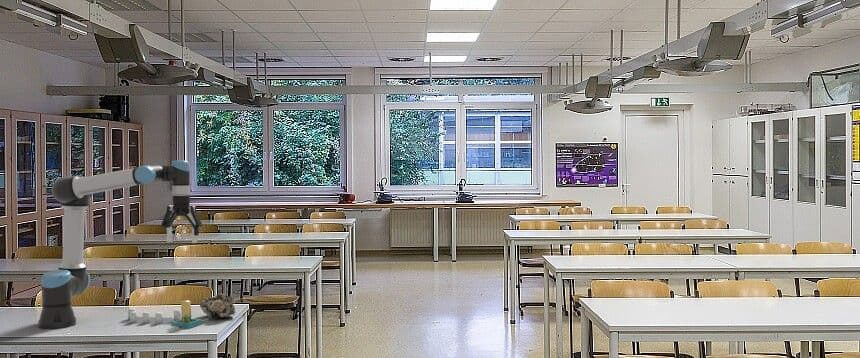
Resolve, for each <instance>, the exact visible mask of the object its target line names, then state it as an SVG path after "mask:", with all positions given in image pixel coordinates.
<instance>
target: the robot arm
mask: <svg viewBox="0 0 860 358" xmlns="http://www.w3.org/2000/svg"><path fill="white" fill-rule="evenodd" d="M190 170H191V169H190V163H189V161H188V160H172V161H171V164H168V165H167V164H164V165H162V164H151V165H148V164H147V165H141V166H138V167H132V168H128V169H122V170H117V171H111V172H104V173H100V174H95V175H90V176H79V175H71V176H62V177H60V178H58V179H57V180H55V181H54V182H53V184H52V187H51V193H52V196H53V197H54V199H55V200H56V201H57V202H59V203H60V207H61V208H62V209H63V210H64V214H63V215H64V216H63V234H62V235H63V239H62V262H61V263H60V264H59V265H58V269H55V270H54V269H53V270H49V271H46V272H44V273H43V275H42V276H41V282H40V283H41V301H42V302H41V307H42V308H41V309H42V310H41V313H40V317H39V320H38V321H37V322H38V324H37V325H38V326H39V327H38V326H37V327H38V328H40V327H41V329H61V328H67V327H72V326H74V325H76V324H77V317H76V316H75V312H74V310H73V307H72V306H73V305H72V297H76V296H78V295H80V294H82V293H83V292H85V291H86V290H87V289H88V288H89V285H90V283H91V277H90V273H88V272H87V265H86V264H85V263H84V246H85V245H84V243H85V218H86V211H87V209H88V208H89V206H90V199H91V198H92V197H93V195H94V194H97V193H102V192H107V191H113V190H118V189H124V188H128V187H133V186H141V185H145V184H146V185H147V184H150V183H151V184H153V183H165V182H166V183H170V182H171V184H172V188H171V189H172V191H171V192H172V195H173V196H172V205H167V206H166V212H165V214H164V216H163V219H162V222H161V224H160V225H161V227H164V228H165V231H164V232H165V235H166V242H167V243H172V242H173V227H172V224H173V223H174V222H175V220H176V219H177V217H179V216H180V217H185V218H186V219H187V221H188V222H189V224H190V225H191V226H192V228H191V242H192V244H197V243H198V236H199V229H200V228H201V227H203V223H202V221H201V218H200V216H199V214H198V212H197V205H191V196H190V194H191V187H190V185H191V184H190V183H191V182H190V180H191V178H190V174H191V173H190V172H191V171H190ZM190 205H191V206H190Z"/></svg>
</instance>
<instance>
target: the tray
mask: <svg viewBox="0 0 860 358" xmlns="http://www.w3.org/2000/svg"><path fill="white" fill-rule="evenodd" d="M202 322H203V319H200V318H191V322H190V323H182V319H180V320H177V321H174V322H171V326H175V327H179V329H191V328H195V327H197V326H201V325H203V323H202Z"/></svg>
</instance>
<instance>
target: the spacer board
mask: <svg viewBox="0 0 860 358" xmlns="http://www.w3.org/2000/svg"><path fill="white" fill-rule="evenodd" d="M154 314H155V315H154V316H153V317H151V313H150V311H145V312H142V316H138V311H136V308H128V309H127V315H128V316H127V317H128V319H124V320H123V321H122V320H121V321H119V322H118V324H131V325H132V324H133V325H139V324H140V325H164V326H169V325H171V322H174V321H177V320H180V319H182V315H181V309H174V310H173V317H164V313H163V312H162V311H159V312H155V313H154ZM171 326H172V325H171Z"/></svg>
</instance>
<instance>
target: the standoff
mask: <svg viewBox="0 0 860 358" xmlns="http://www.w3.org/2000/svg"><path fill="white" fill-rule="evenodd" d="M180 308H181V309H180V310H181V318H182V323H190V322H191V319H192V305H191V300H189V299H188V300H187V299H186V300H181V301H180Z"/></svg>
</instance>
